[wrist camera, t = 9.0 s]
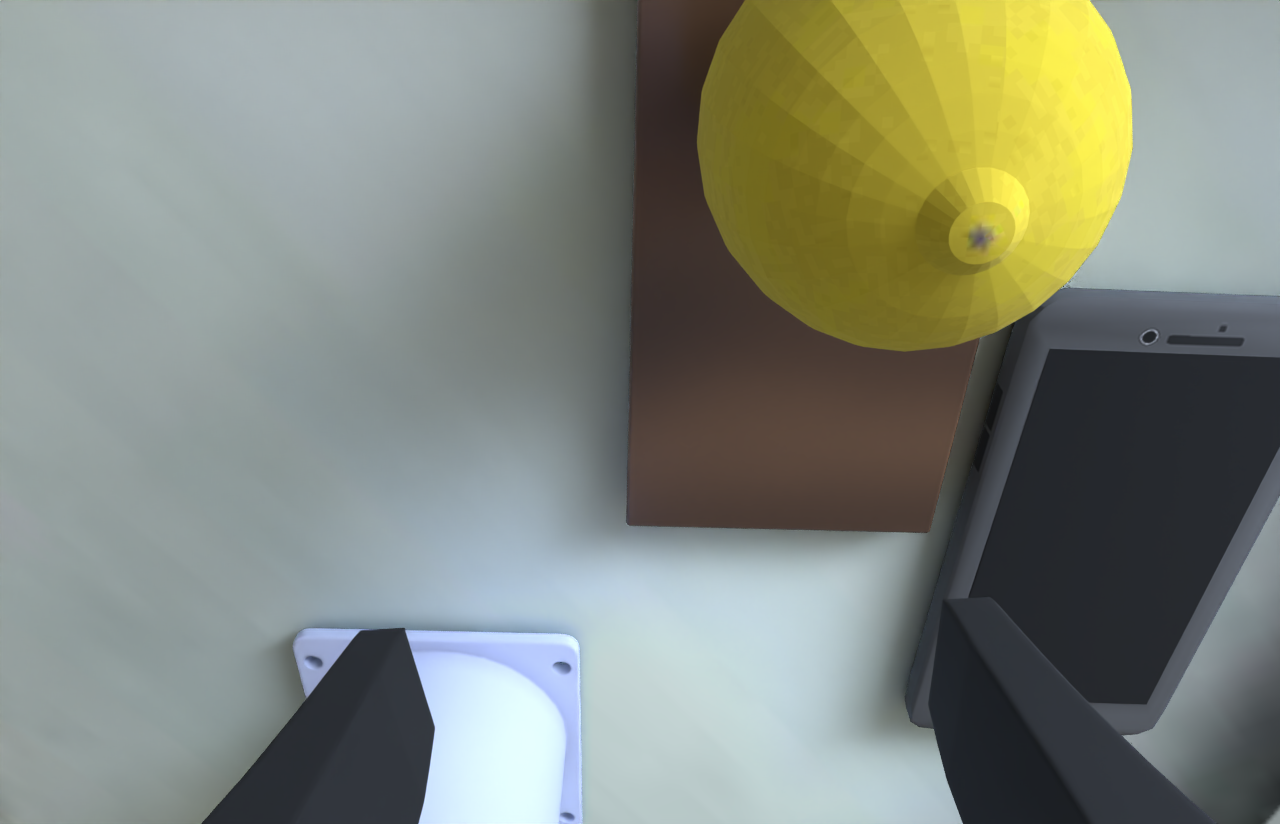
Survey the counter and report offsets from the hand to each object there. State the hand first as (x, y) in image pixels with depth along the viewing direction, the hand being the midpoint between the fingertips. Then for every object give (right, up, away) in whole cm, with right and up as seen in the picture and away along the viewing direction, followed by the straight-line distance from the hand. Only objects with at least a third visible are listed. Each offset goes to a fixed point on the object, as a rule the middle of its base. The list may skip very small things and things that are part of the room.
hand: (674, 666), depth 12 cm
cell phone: (+11, 0, +11) cm, 16 cm away
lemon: (+3, +10, +4) cm, 11 cm away
